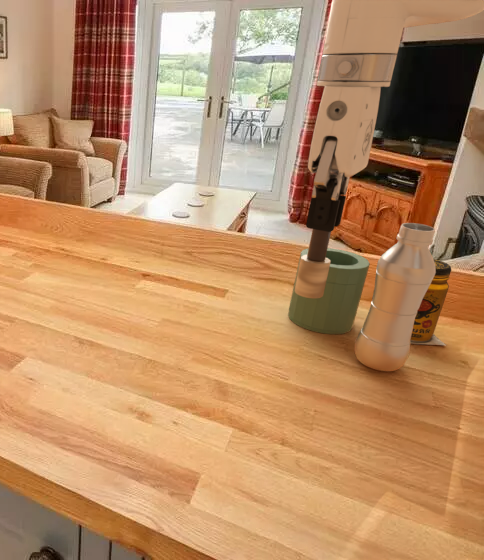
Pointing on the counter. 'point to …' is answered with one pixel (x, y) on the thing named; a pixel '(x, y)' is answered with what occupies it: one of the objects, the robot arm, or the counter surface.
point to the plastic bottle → (396, 299)
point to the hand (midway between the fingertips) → (322, 225)
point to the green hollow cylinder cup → (332, 295)
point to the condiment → (431, 307)
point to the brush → (314, 266)
